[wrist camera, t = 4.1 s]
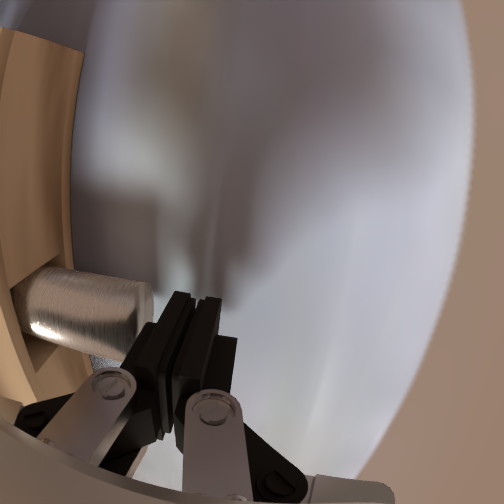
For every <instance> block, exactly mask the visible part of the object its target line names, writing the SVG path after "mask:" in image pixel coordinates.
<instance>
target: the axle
mask: <svg viewBox="0 0 504 504" xmlns="http://www.w3.org/2000/svg"><path fill="white" fill-rule="evenodd" d="M9 290H10V294H11V298H12V302H13V306H14V310H15V314H16V317H17V321H18V324H19V327H20V331H22V332H24V333H27V334H29V335H32V336H35V337H38V338H40V339H43V340H46V341H49V342H52V343H55V344H58V345H61V346H64V347H68V348H71V349H74V350H77V351H81V352H84V353H88V354H91V355H95V356H98V357H102V358H106V359H110V360H114V361H118V362H122V363H123V361H124V359H125V357H126V356H127V354H128V352H129V350H130V349H131V347H132V345H133V343H134V342H135V340H136V338H137V337H138V335H139V333H140V332H141V330H142V328H143V327H144V325H145V324H146V322H152V323H153V316H154V301H153V293H152V289H151V287H150V285H149V284H148V283H147V282H142V281H136V280H129V279H123V278H117V277H111V276H105V275H99V274H94V273H88V272H82V271H77V270H71V269H66V268H61V267H56V266H51V265H45V264H44V265H42V266H41V267H39V268H38V269H37V270H35V271H34V272H32V273H31V274H29V275H28V276H27V277H25V278H24V279H23V280H21V281H20V282H18V283H17V284H16V285H14V286H13V287H12V288H10V289H9Z"/></svg>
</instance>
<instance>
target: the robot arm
mask: <svg viewBox="0 0 504 504" xmlns="http://www.w3.org/2000/svg"><path fill="white" fill-rule="evenodd" d="M221 303H222V299H221V298H215V297H208V296H206V298H205V300H202V299H200V300H199V302H198V305H197V307H196V310H195V306H196V299H195V298H191V294H190V293H185V292H179V291H175V292H174V293H173V295H172V297H171V298H170V300H169V302H168V304H167V306H166V307H165V309H164V311H163V313H162V315H161V316H160V318H159V320H158V322H157V323H152V322H146V324H145V325H144V327H143V328H142V330H141V332H140V333H139V335H138V337H137V338H136V340H135V342H134V343H133V345H132V347H131V349H130V350H129V352H128V354H127V356H126V357H125V359H124V361H123V363H122V364H121V366H120V368H118V367H106V368H101V369H99V370H97V371H95V372H94V373H92V374H91V375H90V376H89V377H88V379H87V380H86V381H85V382H84V383H83V384H82V385H81V386H80V388H79V389H78V390H77V391H76V392H74V393H71V394H67V395H63V396H59V397H56V398H52V399H48V400H44V401H40V402H36V403H32V404H29V405H26V406H24V405H23V403H22V402H19V401H15V400H12V399H9V398H5V397H2V396H0V504H395V497H394V493H393V491H392V490H391V488H390V487H388V486H387V485H385V484H384V483H380V482H374V481H363V480H354V479H345V478H338V477H331V476H325V475H319V474H316V475H315V477H314V476H309V475H304V474H303V473H302V472H301V471H300V470H299V469H298V468H297V467H295V466H294V465H293V464H292V463H290V462H289V461H288V460H287V459H285V458H284V457H283V456H282V455H281V454H279V453H278V452H277V451H276V450H275V449H273V448H272V447H271V446H270V445H269V444H268V443H266V442H265V441H264V440H263V439H262V438H261V437H259V436H258V435H257V434H256V433H255V432H254V431H253V430H252V429H251V428H249V427H248V426H247V425H246V424H245V423H244V422H243V415H242V409H241V405H240V403H239V402H238V401H237V399H236V398H235V397H233V396H232V395H231V394H230V389H231V382H232V375H233V367H234V360H235V353H236V345H237V338H234V337H228V336H222V335H218V330H219V321H220V312H221ZM173 424H174V431H175V437H176V447H177V448H178V449H179V450H180V452H181V453H182V454H183V475H182V492H181V491H176V490H172V489H168V488H163V487H159V486H156V485H152V484H148V483H144V482H141V481H138V480H134V479H131V478H132V477H133V475H134V473H135V471H136V469H137V468H138V466H139V464H140V462H141V460H142V458H143V457H144V455H145V453H146V451H147V448H148V445H149V444H151V443H154V442H156V440H157V439H159V440H163V438H164V435H165V432H166V433H171V431H172V427H173Z"/></svg>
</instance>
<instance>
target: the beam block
mask: <svg viewBox="0 0 504 504" xmlns="http://www.w3.org/2000/svg"><path fill="white" fill-rule="evenodd" d="M83 58H84V53H81V52H79V51H76V50H74V49H71V48H68V47H65V46H63V45H60V44H57V43H54V42H51V41H48V40H45V39H42V38H39V37H36V36H33V35H29V34H26V33H23V32H19V31H16V30H12V29H8V28H4V27H2V28H0V396H2V397H5V398H9V399H12V400H15V401H19V402H22V403H23V405H24V406H26V405H29V404H32V403H36V402H40V401H44V400H48V399H52V398H56V397H59V396H63V395H67V394H71V393H74V392H76V391H77V390H78V389H79V388H80V386H81V385H82V384H83V383H84V382H85V381H86V380H87V379H88V377H89V376H90V375H91V374H92V373H93V369H92V365H91V361H90V357H89V354H88V353H84V352H81V351H77V350H74V349H71V348H68V347H64V346H61V345H58V344H55V343H52V342H49V341H46V340H43V339H40V338H38V337H35V336H32V335H29V334H27V333H24V332H22V331H20V327H19V324H18V321H17V317H16V314H15V310H14V306H13V302H12V298H11V294H10V290H9V289H10V288H12V287H13V286H14V285H16V284H17V283H18V282H20V281H21V280H23V279H24V278H25V277H27V276H28V275H29V274H31V273H32V272H34V271H35V270H37V269H38V268H39V267H41V266H42V265H44V264H45V265H51V266H56V267H61V268H66V269H71V270H74V263H73V253H72V240H71V222H70V161H71V144H72V131H73V121H74V112H75V104H76V97H77V90H78V84H79V78H80V73H81V68H82V62H83Z"/></svg>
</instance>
